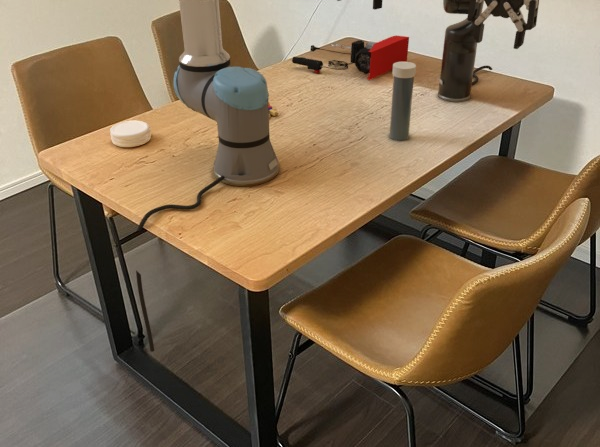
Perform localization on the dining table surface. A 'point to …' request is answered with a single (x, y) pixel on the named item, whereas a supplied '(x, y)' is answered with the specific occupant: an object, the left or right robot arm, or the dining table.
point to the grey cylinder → (401, 108)
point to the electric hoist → (366, 56)
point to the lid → (404, 69)
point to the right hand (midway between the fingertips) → (497, 45)
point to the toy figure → (271, 111)
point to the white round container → (130, 133)
